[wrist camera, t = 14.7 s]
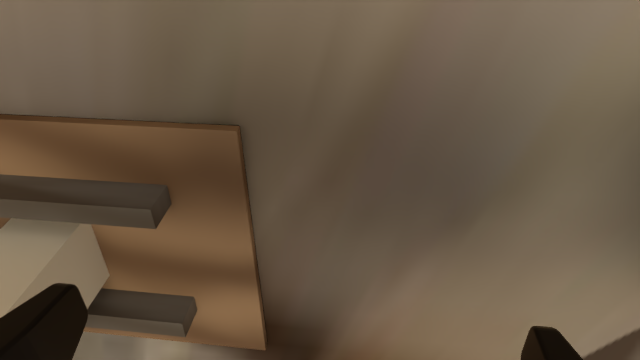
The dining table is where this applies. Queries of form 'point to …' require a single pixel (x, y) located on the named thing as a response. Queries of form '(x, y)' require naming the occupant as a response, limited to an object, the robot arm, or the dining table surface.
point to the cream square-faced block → (48, 260)
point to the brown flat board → (146, 220)
